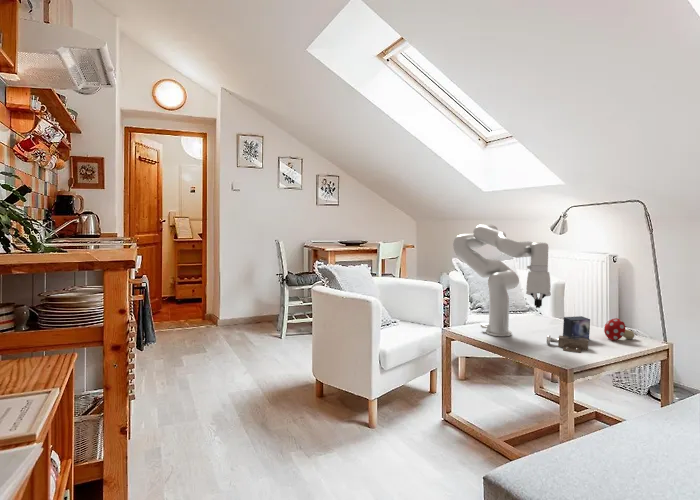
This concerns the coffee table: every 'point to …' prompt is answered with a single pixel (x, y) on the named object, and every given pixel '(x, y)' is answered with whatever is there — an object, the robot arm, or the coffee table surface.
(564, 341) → the hinge
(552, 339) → the hinge pin
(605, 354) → the coffee table surface
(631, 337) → the decorative mushroom
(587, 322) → the small box
